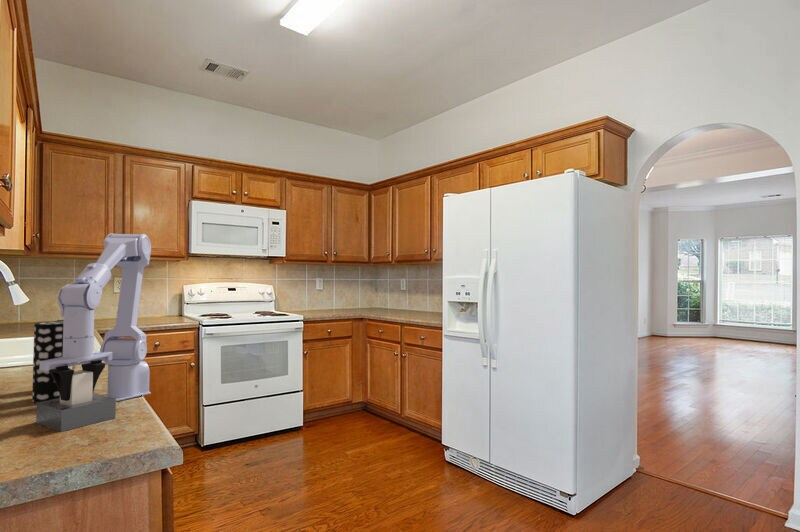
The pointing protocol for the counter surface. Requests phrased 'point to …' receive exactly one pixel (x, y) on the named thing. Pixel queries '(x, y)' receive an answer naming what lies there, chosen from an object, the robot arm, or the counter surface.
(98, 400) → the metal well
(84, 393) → the ivory block
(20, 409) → the counter surface
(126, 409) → the counter surface
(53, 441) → the counter surface
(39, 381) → the spotted tube
